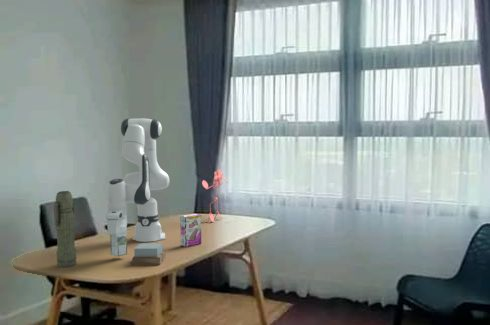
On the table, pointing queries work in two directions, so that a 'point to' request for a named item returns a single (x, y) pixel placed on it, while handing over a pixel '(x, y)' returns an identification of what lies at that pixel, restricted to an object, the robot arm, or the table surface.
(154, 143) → the robot arm
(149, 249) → the tower top
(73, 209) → the thermos
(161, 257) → the tower bottom
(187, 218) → the candy bar box
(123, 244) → the syrup box
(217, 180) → the figurine
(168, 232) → the table surface
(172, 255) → the table surface
